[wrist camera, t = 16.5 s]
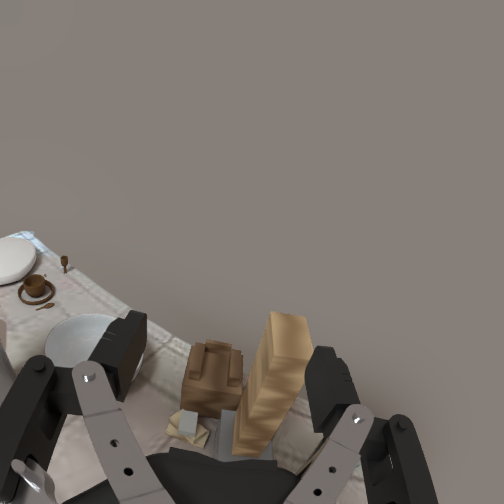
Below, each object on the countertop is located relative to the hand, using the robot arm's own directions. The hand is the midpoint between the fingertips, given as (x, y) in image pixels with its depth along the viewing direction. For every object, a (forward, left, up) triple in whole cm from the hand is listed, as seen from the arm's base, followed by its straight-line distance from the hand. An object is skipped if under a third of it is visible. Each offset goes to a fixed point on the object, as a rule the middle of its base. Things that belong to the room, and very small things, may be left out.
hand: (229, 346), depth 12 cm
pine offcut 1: (-2, +16, -37) cm, 40 cm away
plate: (-74, +48, -38) cm, 96 cm away
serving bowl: (-23, +25, -38) cm, 51 cm away
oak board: (+7, +12, -30) cm, 33 cm away
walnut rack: (+1, +25, -38) cm, 46 cm away
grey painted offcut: (-2, +15, -35) cm, 38 cm away
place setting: (-50, +45, -39) cm, 78 cm away
